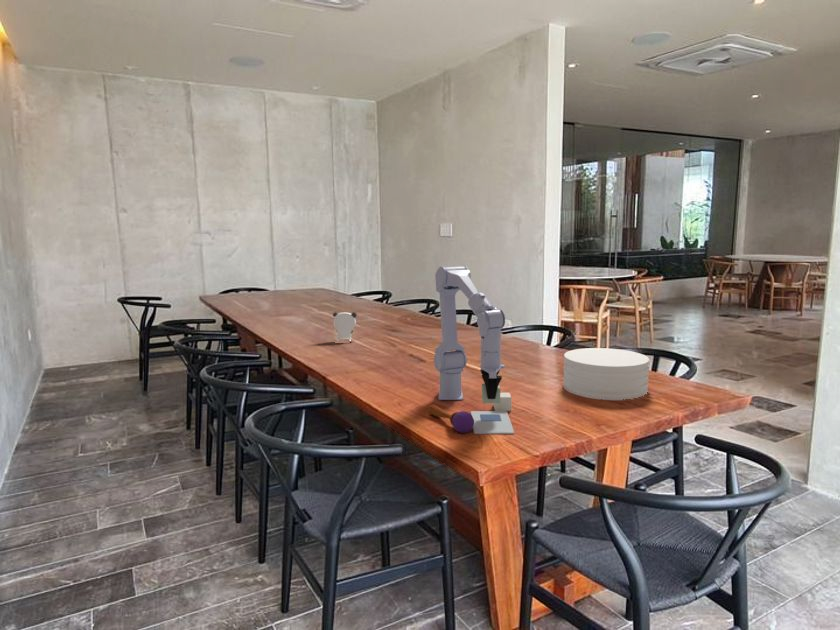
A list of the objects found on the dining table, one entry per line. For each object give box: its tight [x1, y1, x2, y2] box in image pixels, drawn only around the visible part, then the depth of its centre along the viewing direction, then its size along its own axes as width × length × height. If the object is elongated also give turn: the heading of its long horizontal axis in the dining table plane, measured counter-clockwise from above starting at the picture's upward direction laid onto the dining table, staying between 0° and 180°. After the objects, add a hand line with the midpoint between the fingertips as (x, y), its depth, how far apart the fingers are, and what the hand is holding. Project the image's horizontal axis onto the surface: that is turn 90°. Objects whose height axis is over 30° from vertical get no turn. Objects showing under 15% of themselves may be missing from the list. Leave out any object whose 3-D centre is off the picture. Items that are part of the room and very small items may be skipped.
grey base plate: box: [470, 410, 515, 435], centre depth 162 cm, size 18×11×1 cm, turn 178°
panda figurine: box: [332, 311, 358, 341], centre depth 281 cm, size 12×11×15 cm
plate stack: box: [562, 347, 650, 401], centre depth 194 cm, size 28×28×12 cm
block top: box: [493, 392, 512, 412], centre depth 174 cm, size 5×5×4 cm
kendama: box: [427, 404, 474, 434], centre depth 161 cm, size 6×6×20 cm
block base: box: [481, 383, 501, 404], centre depth 163 cm, size 5×5×4 cm
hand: (490, 395), depth 163 cm, fingers closed on block base, 5 cm apart
